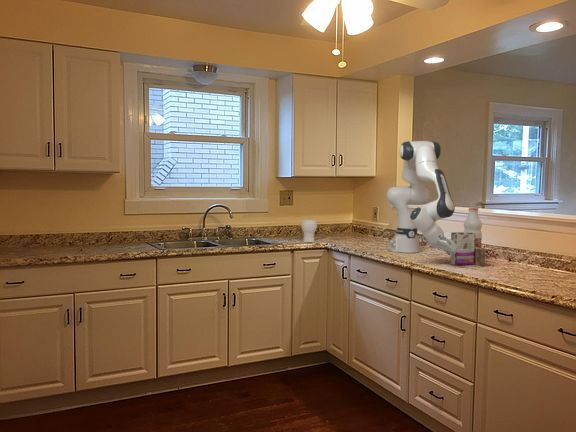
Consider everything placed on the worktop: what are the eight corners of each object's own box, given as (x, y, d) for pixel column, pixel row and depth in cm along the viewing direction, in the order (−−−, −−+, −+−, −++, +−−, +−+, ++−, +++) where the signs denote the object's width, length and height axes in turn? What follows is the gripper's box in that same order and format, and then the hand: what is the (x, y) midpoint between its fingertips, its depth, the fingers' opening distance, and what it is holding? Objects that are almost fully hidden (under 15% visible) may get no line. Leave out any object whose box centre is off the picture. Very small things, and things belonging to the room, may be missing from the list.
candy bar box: (469, 263, 251) (470, 231, 250) (474, 265, 246) (476, 232, 245) (449, 263, 249) (450, 231, 247) (455, 265, 244) (456, 233, 243)
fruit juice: (472, 257, 271) (474, 207, 269) (484, 260, 262) (486, 208, 260) (458, 258, 267) (460, 207, 265) (470, 261, 259) (472, 208, 257)
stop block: (460, 260, 259) (461, 244, 258) (464, 260, 259) (464, 244, 259) (480, 266, 241) (481, 248, 241) (484, 266, 242) (485, 248, 241)
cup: (302, 243, 325) (302, 220, 324) (299, 241, 336) (300, 219, 335) (317, 243, 327) (318, 220, 326) (315, 241, 337) (315, 219, 336)
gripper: (450, 232, 234) (467, 252, 236) (428, 228, 254) (445, 247, 256) (441, 241, 233) (458, 261, 236) (420, 237, 253) (437, 255, 256)
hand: (451, 254), depth 246 cm, fingers closed, pressing on candy bar box
